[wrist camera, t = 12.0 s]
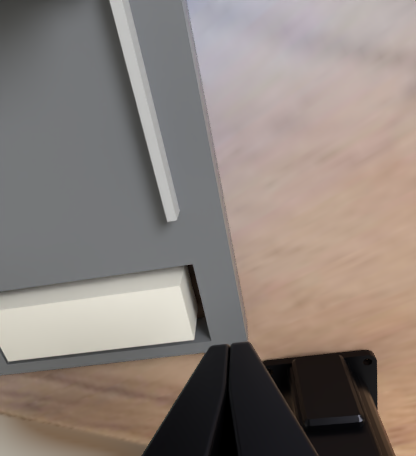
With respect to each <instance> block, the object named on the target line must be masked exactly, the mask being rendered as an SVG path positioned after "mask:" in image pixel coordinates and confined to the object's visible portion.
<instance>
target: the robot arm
mask: <svg viewBox="0 0 416 456" xmlns="http://www.w3.org/2000/svg"><path fill="white" fill-rule="evenodd" d="M365 359H368V360H365ZM267 369H271V370H267ZM142 456H395V453H394V451H393V448H392V446H391V443H390V441H389V439H388V436H387V434H386V431H385V429H384V426H383V424H382V421H381V419H380V416H379V414H378V411H377V360H376V357H375V355H374V353H373V352H372V351H369V350H361V351H352V352H342V353H333V354H324V355H314V356H305V357H295V358H286V359H276V360H267V361H264V362H262V361H261V359H260V358H259V356H258V354H257V353H256V351H255V349H254V348H253V346H252V344H251V343H250V342H248V341H245V342H236V343H232V344H231V345H229V344H219V345H212V346H210V347H209V348H208V350H207V352H206V353H205V355H204V356H203V358H202V360H201V361H200V363H199V364H198V366H197V368H196V369H195V371H194V372H193V374H192V376H191V377H190V379H189V380H188V382H187V384H186V385H185V387H184V388H183V390H182V392H181V393H180V395H179V396H178V398H177V400H176V401H175V403H174V404H173V406H172V408H171V409H170V411H169V412H168V414H167V416H166V417H165V419H164V420H163V422H162V424H161V425H160V427H159V429H158V430H157V432H156V433H155V435H154V437H153V438H152V440H151V441H150V443H149V445H148V446H147V448H146V449H145V451H144V453H143V454H142Z"/></svg>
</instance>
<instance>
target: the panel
mask: <svg viewBox="0 0 416 456" xmlns="http://www.w3.org/2000/svg"><path fill="white" fill-rule="evenodd" d="M191 264H193V267H194V272H195V276H196V280H197V284H198V288H199V292H200V296H201V300H202V304H203V309H204V313H205V317H203V318H197V322H196V330H195V338H194V340H189V341H180V342H172V343H163V344H155V345H146V346H137V347H129V348H120V349H111V350H103V351H94V352H86V353H77V354H68V355H60V356H51V357H43V358H34V359H25V360H17V361H8V360H7V358H6V357H5V355H4V353H3V351H2V349H1V347H0V375H9V374H18V373H27V372H36V371H45V370H54V369H63V368H72V367H81V366H90V365H99V364H108V363H117V362H126V361H135V360H144V359H153V358H162V357H171V356H180V355H189V354H198V353H206V352H207V350H208V348H209V347H210V346H212V345H219V344H229V345H231V344H232V343H236V342H245V341H248V330H247V319H246V314H245V309H244V303H243V298H242V293H241V288H240V282H239V277H238V272H237V266H236V261H235V256H234V250H233V245H232V240H231V235H230V229H229V224H228V219H227V213H226V208H225V203H224V197H223V192H222V187H221V182H220V176H219V171H218V166H217V160H216V155H215V150H214V144H213V139H212V134H211V128H210V123H209V118H208V113H207V107H206V102H205V97H204V91H203V86H202V81H201V75H200V70H199V65H198V60H197V54H196V49H195V44H194V38H193V33H192V28H191V22H190V17H189V12H188V7H187V1H186V0H0V292H1V291H8V290H15V289H22V288H29V287H36V286H43V285H50V284H57V283H64V282H71V281H78V280H85V279H93V278H100V277H107V276H114V275H121V274H128V273H135V272H142V271H149V270H156V269H163V268H170V267H177V266H184V265H191Z"/></svg>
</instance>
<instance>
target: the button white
mask: <svg viewBox="0 0 416 456" xmlns="http://www.w3.org/2000/svg"><path fill="white" fill-rule="evenodd" d="M197 314H198V306H197V302H196V298H195V294H194V290H193V286H192V282H191V278H190V274H189V270H188V266H187V265H184V266H177V267H170V268H163V269H156V270H149V271H142V272H135V273H128V274H121V275H114V276H107V277H100V278H93V279H85V280H78V281H71V282H64V283H57V284H50V285H43V286H36V287H29V288H22V289H15V290H8V291H1V292H0V347H1V349H2V351H3V353H4V355H5V357H6V358H7V360H8V361H17V360H25V359H34V358H43V357H51V356H60V355H68V354H77V353H86V352H94V351H103V350H111V349H120V348H129V347H137V346H146V345H155V344H163V343H172V342H180V341H189V340H194V338H195V330H196V322H197Z"/></svg>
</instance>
